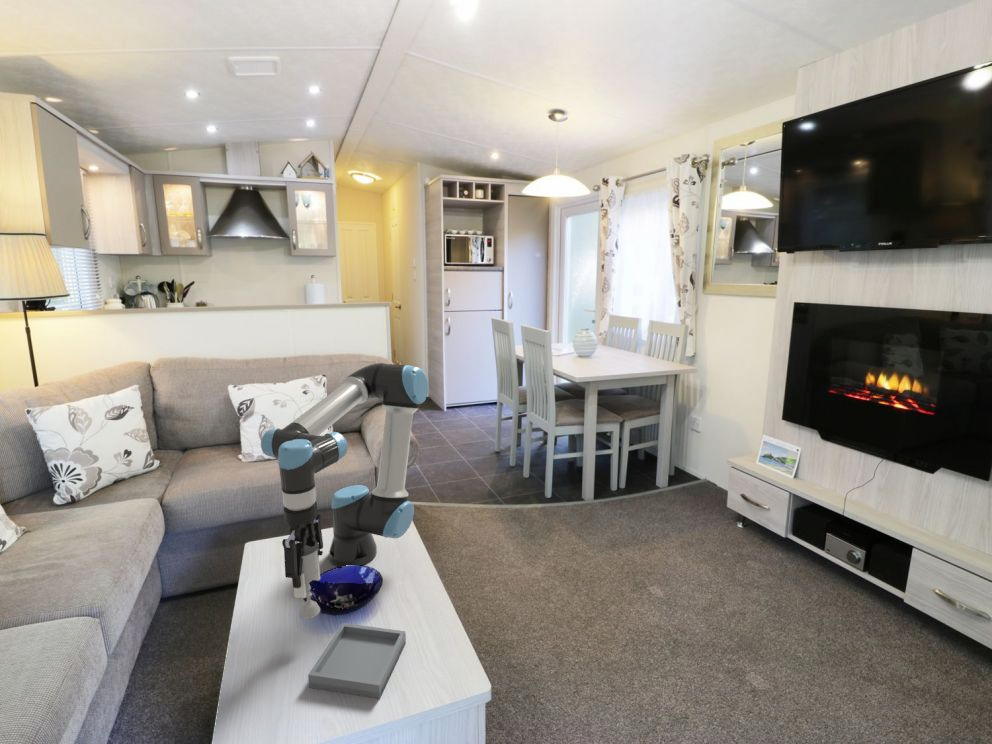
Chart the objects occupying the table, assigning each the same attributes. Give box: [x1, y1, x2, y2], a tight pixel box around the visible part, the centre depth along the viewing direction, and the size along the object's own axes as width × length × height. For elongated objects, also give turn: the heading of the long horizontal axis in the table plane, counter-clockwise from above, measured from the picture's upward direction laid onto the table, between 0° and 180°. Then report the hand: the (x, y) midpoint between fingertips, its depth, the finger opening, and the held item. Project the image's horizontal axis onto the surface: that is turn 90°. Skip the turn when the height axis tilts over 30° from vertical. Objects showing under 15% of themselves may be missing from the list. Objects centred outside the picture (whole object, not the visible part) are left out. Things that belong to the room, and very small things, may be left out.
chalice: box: [298, 542, 321, 620], centre depth 126 cm, size 7×7×18 cm
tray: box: [307, 622, 407, 700], centre depth 121 cm, size 17×17×4 cm
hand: (307, 587), depth 126 cm, fingers closed on chalice, 6 cm apart
